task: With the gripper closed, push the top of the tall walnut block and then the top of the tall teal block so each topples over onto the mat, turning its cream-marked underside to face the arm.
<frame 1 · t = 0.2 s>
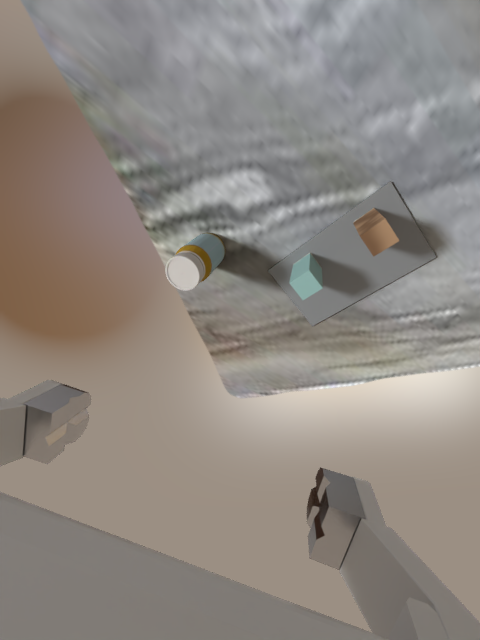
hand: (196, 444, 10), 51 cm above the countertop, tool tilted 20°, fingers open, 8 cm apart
bottle: (210, 248, 61), on the countertop
mat: (345, 263, 56), on the countertop
teal block: (307, 266, 57), resting on mat
walnut block: (369, 224, 51), resting on mat
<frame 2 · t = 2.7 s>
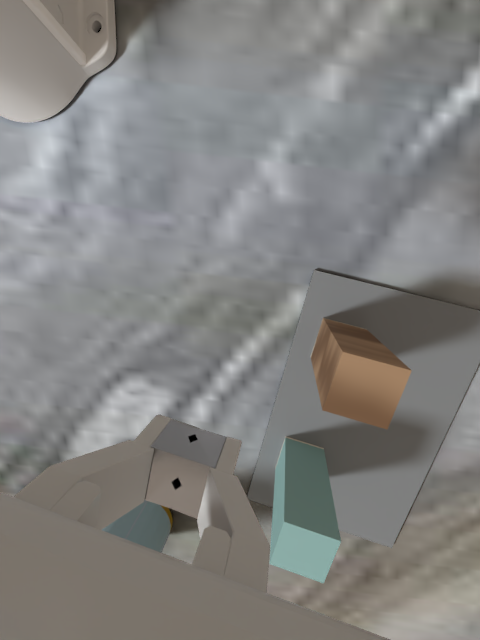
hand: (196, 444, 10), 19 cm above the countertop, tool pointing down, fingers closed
bottle: (148, 510, 36), on the countertop
mat: (355, 418, 29), on the countertop
teal block: (299, 458, 30), resting on mat
walnut block: (337, 343, 27), resting on mat
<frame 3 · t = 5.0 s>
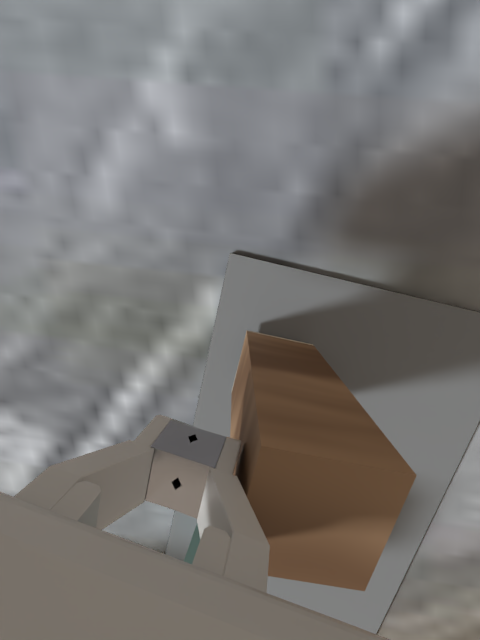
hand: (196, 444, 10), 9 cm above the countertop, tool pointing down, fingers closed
mat: (304, 475, 19), on the countertop
walnut block: (271, 368, 17), point 1 cm above the countertop, tilted 10°, touching gripper, mat
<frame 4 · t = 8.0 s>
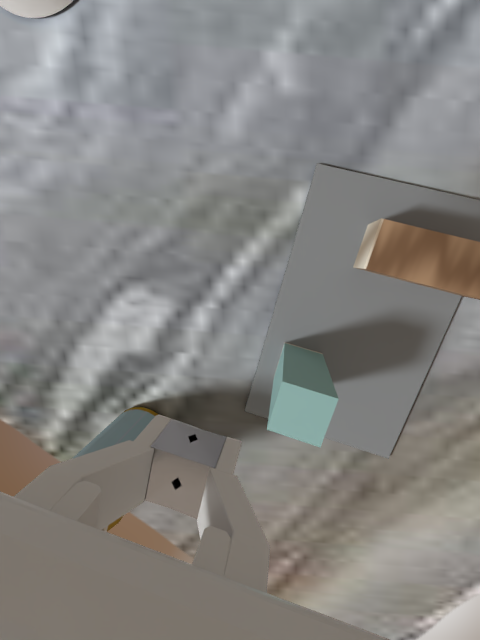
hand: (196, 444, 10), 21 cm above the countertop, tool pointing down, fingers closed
bottle: (146, 429, 36), on the countertop
mat: (354, 321, 29), on the countertop
teal block: (297, 365, 30), resting on mat
walnut block: (365, 245, 25), point 2 cm above the countertop, tilted 90°, touching mat
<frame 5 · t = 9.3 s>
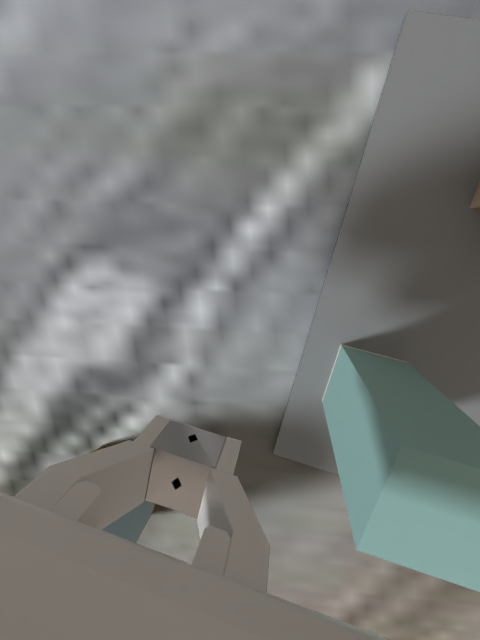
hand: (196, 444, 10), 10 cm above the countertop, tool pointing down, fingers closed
bottle: (122, 478, 24), on the countertop
mat: (464, 305, 17), on the countertop
teal block: (362, 381, 18), resting on mat
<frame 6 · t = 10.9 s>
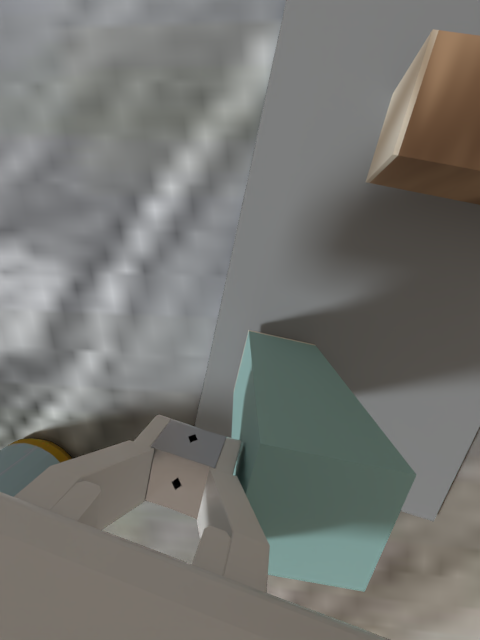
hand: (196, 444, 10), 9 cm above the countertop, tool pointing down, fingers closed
bottle: (48, 471, 23), on the countertop
mat: (370, 285, 16), on the countertop
teal block: (273, 368, 17), point 1 cm above the countertop, tilted 10°, touching mat
walnut block: (392, 120, 12), point 2 cm above the countertop, tilted 90°, touching mat
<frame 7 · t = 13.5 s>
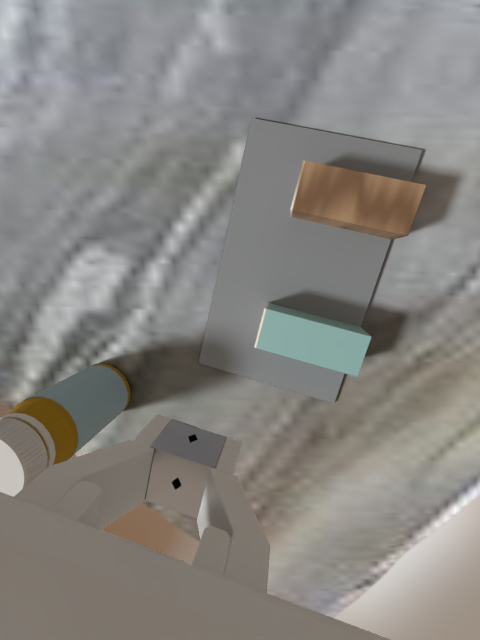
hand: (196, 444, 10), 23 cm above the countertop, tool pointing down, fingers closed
bottle: (109, 387, 37), on the countertop
mat: (295, 270, 30), on the countertop
teal block: (261, 323, 29), point 2 cm above the countertop, tilted 90°, touching mat
walnut block: (296, 191, 27), point 2 cm above the countertop, tilted 90°, touching mat
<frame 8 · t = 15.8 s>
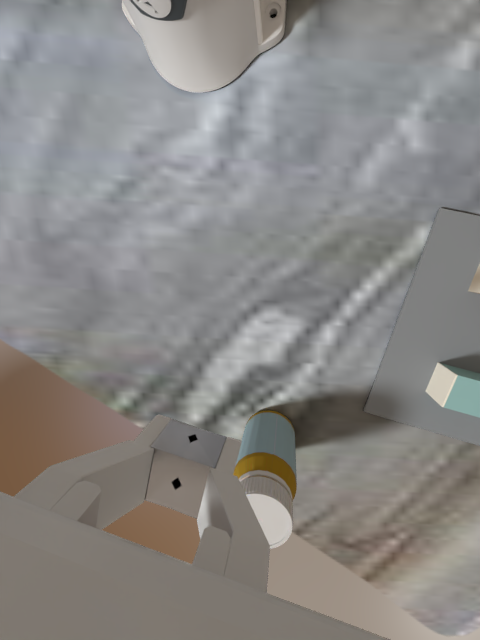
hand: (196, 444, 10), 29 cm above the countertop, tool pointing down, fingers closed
bottle: (270, 429, 41), on the countertop
mat: (465, 335, 34), on the countertop
teal block: (439, 383, 34), point 2 cm above the countertop, tilted 90°, touching mat
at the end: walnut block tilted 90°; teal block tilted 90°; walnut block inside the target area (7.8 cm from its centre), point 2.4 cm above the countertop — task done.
